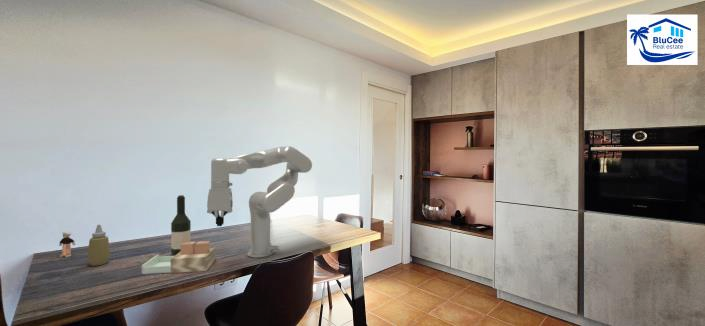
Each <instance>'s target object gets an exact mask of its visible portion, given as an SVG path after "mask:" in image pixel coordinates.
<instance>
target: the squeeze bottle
mask: <svg viewBox="0 0 705 326" xmlns="http://www.w3.org/2000/svg"><path fill="white" fill-rule="evenodd" d="M106 233H107V232H106V231H103V227H102V225H101V224H97V225H96V228H95V231H94V232H93V233H91V234H92V235H91V237H90V239H89V242H88V248H87V255H86V257H87V261H88V263H89V265H90V266H93V267H94V266H95V267H96V266H101V265H102V266H103V265H105V264H107V263H108V262H109V258H110V256H111V248H110V242H109V236H107V234H106Z"/></svg>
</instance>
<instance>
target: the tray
mask: <svg viewBox="0 0 705 326" xmlns="http://www.w3.org/2000/svg"><path fill="white" fill-rule="evenodd" d="M172 257H174V256H171V255H166V256H165V255H164V256H162V255H161V256H160V254H156V255H155V256H154V257H152V258H150V259H149V260H147V261H146V262H145V263H142V264H141V275H143V276H144V275H145V276H146V275H161V274H162V273H163V274H172V273H171V258H172Z"/></svg>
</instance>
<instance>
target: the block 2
mask: <svg viewBox="0 0 705 326" xmlns="http://www.w3.org/2000/svg"><path fill="white" fill-rule="evenodd" d="M210 248H211V241H210V240H205V241H204V240H203V241H196V244H195V254H207V253H208V252H209V251H210Z"/></svg>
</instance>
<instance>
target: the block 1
mask: <svg viewBox="0 0 705 326" xmlns="http://www.w3.org/2000/svg"><path fill="white" fill-rule="evenodd" d="M196 243H197V241H191V242H184V243H182V244H181V255H187V254H194V253H195V244H196Z"/></svg>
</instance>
